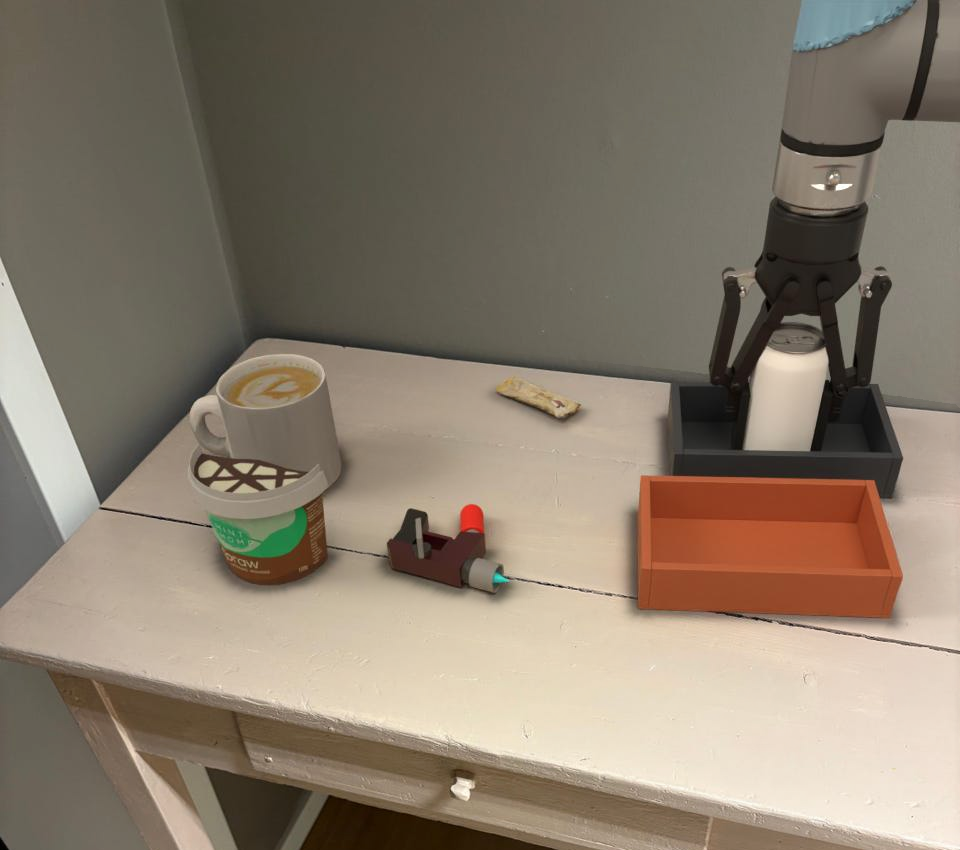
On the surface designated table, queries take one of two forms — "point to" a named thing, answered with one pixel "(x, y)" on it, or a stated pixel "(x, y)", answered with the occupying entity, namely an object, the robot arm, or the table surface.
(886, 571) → the terracotta bin
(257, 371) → the coffee mug
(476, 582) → the toy gun
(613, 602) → the table surface
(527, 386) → the snack bar
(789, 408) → the can
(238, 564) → the food container
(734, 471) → the grey bin
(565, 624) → the table surface
